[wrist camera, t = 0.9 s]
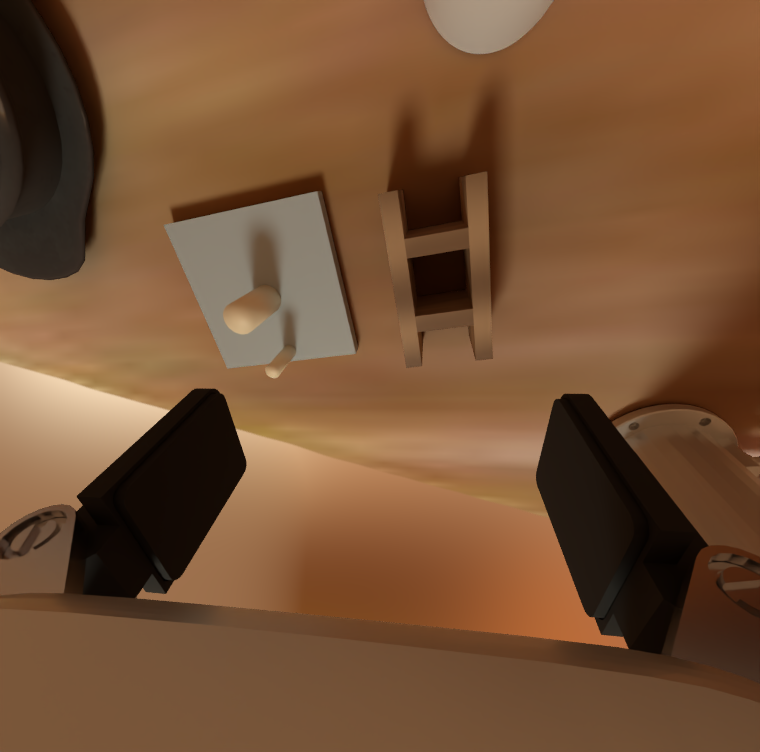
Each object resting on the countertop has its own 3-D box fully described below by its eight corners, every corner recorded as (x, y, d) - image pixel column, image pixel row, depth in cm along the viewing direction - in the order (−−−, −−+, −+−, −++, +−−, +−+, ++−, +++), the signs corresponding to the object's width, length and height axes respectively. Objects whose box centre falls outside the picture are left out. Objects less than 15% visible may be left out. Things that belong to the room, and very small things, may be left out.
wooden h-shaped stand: (386, 192, 25) (377, 194, 20) (476, 173, 23) (487, 171, 19) (409, 341, 30) (406, 367, 26) (483, 333, 29) (492, 358, 25)
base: (321, 191, 25) (292, 192, 20) (358, 348, 31) (343, 381, 26) (173, 223, 28) (112, 232, 22) (233, 362, 34) (197, 396, 28)
